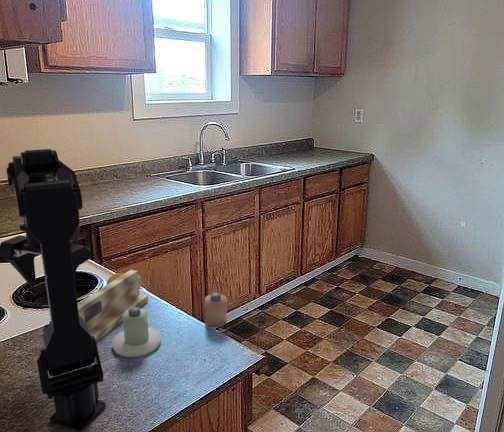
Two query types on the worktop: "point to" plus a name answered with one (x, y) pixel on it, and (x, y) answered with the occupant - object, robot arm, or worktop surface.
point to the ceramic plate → (139, 350)
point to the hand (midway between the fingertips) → (49, 289)
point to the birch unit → (111, 304)
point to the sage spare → (135, 326)
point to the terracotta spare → (215, 310)
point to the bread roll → (119, 276)
